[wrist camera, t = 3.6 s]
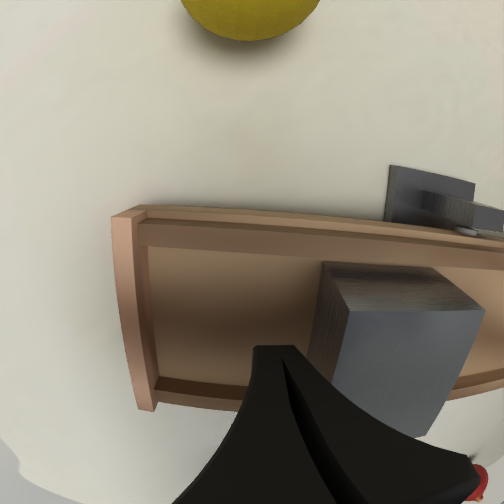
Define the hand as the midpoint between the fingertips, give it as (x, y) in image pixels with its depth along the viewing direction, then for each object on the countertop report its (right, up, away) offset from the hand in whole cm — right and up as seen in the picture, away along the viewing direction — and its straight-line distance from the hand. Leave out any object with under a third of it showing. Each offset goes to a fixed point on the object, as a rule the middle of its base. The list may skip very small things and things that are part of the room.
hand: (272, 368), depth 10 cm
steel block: (+4, +1, +3) cm, 5 cm away
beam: (+7, +1, +4) cm, 9 cm away
